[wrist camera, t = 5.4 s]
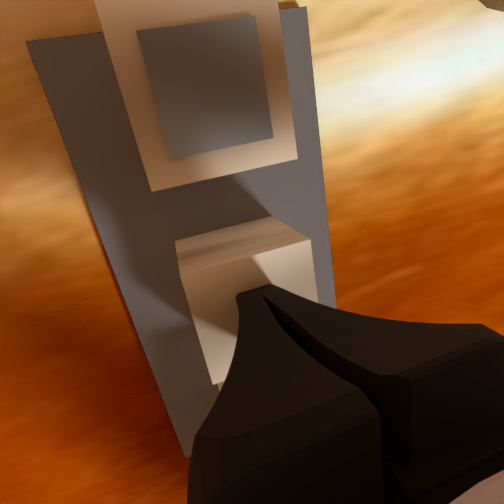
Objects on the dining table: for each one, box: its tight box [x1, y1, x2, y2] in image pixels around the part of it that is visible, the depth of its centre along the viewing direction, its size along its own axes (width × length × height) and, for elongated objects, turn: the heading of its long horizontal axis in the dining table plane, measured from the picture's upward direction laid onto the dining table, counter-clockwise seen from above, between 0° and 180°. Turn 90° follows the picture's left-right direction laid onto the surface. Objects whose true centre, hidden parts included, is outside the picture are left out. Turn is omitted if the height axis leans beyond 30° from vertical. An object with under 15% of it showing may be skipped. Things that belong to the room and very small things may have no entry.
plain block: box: [175, 216, 318, 385], centre depth 13 cm, size 4×4×4 cm
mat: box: [25, 6, 337, 458], centre depth 15 cm, size 20×10×1 cm, turn 11°
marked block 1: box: [94, 0, 298, 192], centre depth 10 cm, size 4×4×4 cm
